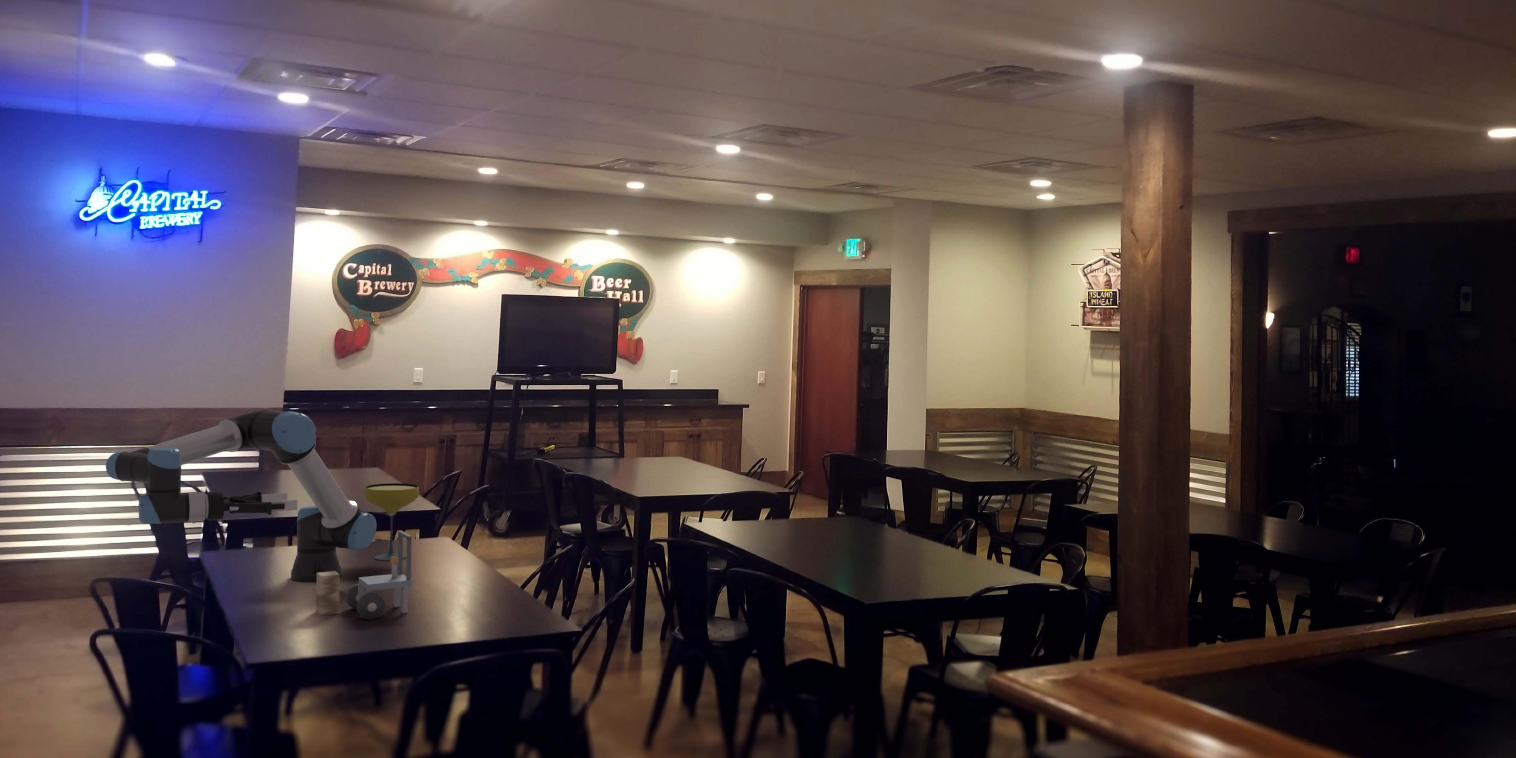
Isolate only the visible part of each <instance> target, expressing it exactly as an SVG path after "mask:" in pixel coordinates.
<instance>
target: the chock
mask: <svg viewBox="0 0 1516 758" xmlns="http://www.w3.org/2000/svg"><path fill="white" fill-rule="evenodd" d="M340 578H341V577H340V574H339V573H337V572H336V571H330V572H320V573H317V582H316V598H315V599H316V600H315V601H316V603H315V607H316V610H315V612H316V613H317V614H318V615H319V616H326V615H327V616H329V615H336V614H340V586H341V585H340V582H341V581H340V580H341V579H340Z"/></svg>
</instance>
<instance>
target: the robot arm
mask: <svg viewBox="0 0 1516 758" xmlns="http://www.w3.org/2000/svg"><path fill="white" fill-rule="evenodd" d="M316 432H317V428H316V426H315V424H314V422H313V420H312V419H311V418H310V417H309V416H308V415H306V414H303V413H301V412H295V411H290V410H288V411H283V410H282V411H281V410H268V409H267V410H266V409H265V410H264V409H262V410H261V409H259V410H254V411H253V410H252V411H250V412H246V413H242V414H239V415H236V416H233V417H229V418H226V419H222V420H221V421H219V422H218V424H217V425H216V426H215V425H214V426H212V427H209V428H206V429H203V430H199V431H196V432H192V433H190V434H186V435H181V436H179V437H175V438H172V439H169V440H166V441H163V442H160V443H156V444H154V445H151V446H147V447H144V448H140V449H136V450H133V451H117V452H114V453H112V454H111V455H110V456H109V457H108V458H107V459H106V463H105V471H106V473H107V475H108V476H109V477H110V478H111V479H114V480H117V481H120V482H130V483H142V484H143V483H144V484H147V494H144V495H140V496H139V498H138V519H139V521H140V523H141V524H144V525H153V524H155V525H157V524H158V525H163V524H174V523H187V522H191V523H192V524H196V523H197V522H202V521H205V520H208V521H220V520H222V519H223V518H224V516H225V515H224V513H225V512H229V514H267V515H268V516H269V515H272V512H288V511H297V510H298V499H288V493H287V492H281V493H279V492H278V493H263V494H262V491H257V492H256V493H251V494H242V495H234V496H224V494H223V492H222V491H220V490H219V491H207V493H205V492H204V491H198V492H195V491H194V492H184V493H182V487H181V486H182V482H181V481H182V466H183V465H186V464H189V463H193V462H196V461H199V460H201V459H206V458H208V457H211V456H214V455H217V454H220V453H223V452H226V451H227V452H230V453H234V452H237V451H240V450H241V451H242V450H262V451H270V452H272V454H273V455H274V456H275V458H276V460H277V462H279V464H282V465H287V466H288V467H289V469H290V471H291V472H292V474H294V477H296V479H297V481H298V482H299V483H300V485H301V487H302V488H303V489H304V491H305V492H306V493H307V495H308V496H309V498H310V499H311V501H312V503H314V505H310V506H309V505H308V506H304V507H301V508H300V509H299V510H298V511H297V519H296V556H295V559H294V562H293V565H292V568H291V571H290V580H293V581H297V582H303V583H304V582H305V583H312V582H315V583H317V573H320V572H330V571H336V572H337V573H339V574H340V578H341V577H342V575H343V572H342V571H343V569H342V566H341V565H340V560H339V557H338V554H337V548H339V549H345V550H351V551H361V550H364V549H367V547H369V546H370V545H371V544H372V543H373V541H374V538H375V536H376V533H377V531H376V530H377V521H376V518H375V516H374V515H373V514H371V513H369V512H364V511H362V510H361V508H360V507H359V505H358V504H357V503H356V501H354V500H351V499H348V498H347V496H346V495H345V494H344V492H343V490H342V488H341V487H340V485H339V484H338V482H337V481H336V480H335V478H334V477H333V475H332V473H331V472H330V470H329V469H328V468H327V466H326V465H325V463H324V461H323V459H322V458H321V457H320V456H319V455H320V454H318V452H317V450H316V449H315V448H316V445H317V442H316V440H317V435H316Z"/></svg>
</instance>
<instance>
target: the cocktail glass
mask: <svg viewBox="0 0 1516 758" xmlns="http://www.w3.org/2000/svg"><path fill="white" fill-rule="evenodd" d="M419 495H420V486H419V485H417V484H412V483H399V482H398V483H394V482H391V483H377V484H369V485H367V486H365V487H364V498H365V500H367V502H369V503H371V504H372V505H375V506H376V507H379V508H381V509H382V510H384V511H385V512H386V514H387V515H388V516H389V517H390V530H389V531H390V534H389V535H390V537H389V550H388V552H387V553H385V554H379V555H376V556H375V557H374V559H375V560H377V561H382V562H383V561H384V562H386V561H387V562H391V561H390V560H391V558H392V557H393V556H396V557H398V553H395V552H394V547H393V518H394V516H395V515H396V514H397V513H398V511H399V510H400V509H402V508H404V507H406V506H408V505H410V504H411V503H413V502H414V501H416V500H417V499H418V498H419ZM406 556H407V554H403V555H402V560H405V559H406Z"/></svg>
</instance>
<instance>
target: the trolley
mask: <svg viewBox="0 0 1516 758" xmlns="http://www.w3.org/2000/svg"><path fill="white" fill-rule="evenodd" d="M397 534H398V535H397V536H398V537H397V554H398V557H396V556H393V557H392V558H391V560H390V561H389V562H390V564H391V574H382V575H381V574H379V575H370V576H362V577H361V576H360V577H358V583H355V584H353V585H351V586H350V587H348V589H347V591H346V593H345V597H344V598H345V602H346V604H347V605H348V606H349V607H350V608H352V609H353V610H356V611H357V613H358V615H359V616H361V617H362V618H363V619H365V620H368V621H373V620H376V619H378V618H380V617H381V616H382V614H383V613H384V612H385V608H386V604H385V600H384V598H382V596H381V595H379V594H377V593H376V592H373V591H381V590H383V591H384V590H390V589H393V607H394V608H401V613H402V614H408V613H409V587H412V586H413V580H412V579H411V578H412V535H410V534H408V533H407V532H405V531H403V530H398V532H397ZM404 539H405V540H406V558H405V559H406V563H405V564H406V565H405V566H406V567H405V569H406V570H405V573H406V574H403V559H402V555H404V554H403V551H404V550H403V545H404V544H403V543H404Z"/></svg>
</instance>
